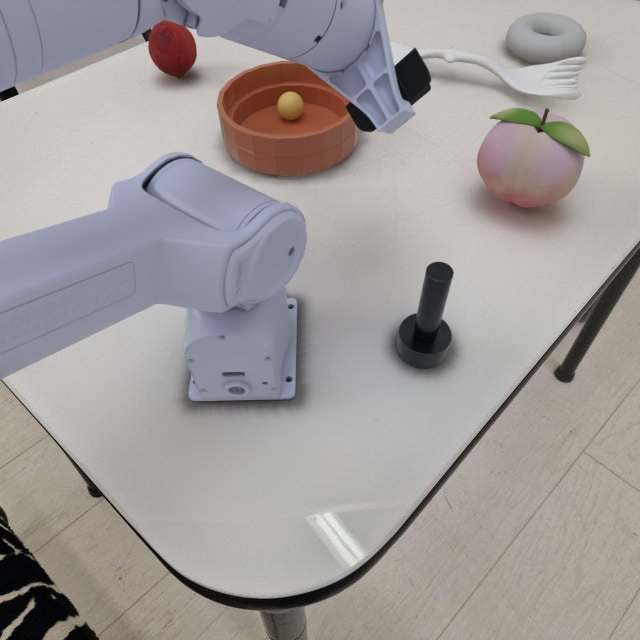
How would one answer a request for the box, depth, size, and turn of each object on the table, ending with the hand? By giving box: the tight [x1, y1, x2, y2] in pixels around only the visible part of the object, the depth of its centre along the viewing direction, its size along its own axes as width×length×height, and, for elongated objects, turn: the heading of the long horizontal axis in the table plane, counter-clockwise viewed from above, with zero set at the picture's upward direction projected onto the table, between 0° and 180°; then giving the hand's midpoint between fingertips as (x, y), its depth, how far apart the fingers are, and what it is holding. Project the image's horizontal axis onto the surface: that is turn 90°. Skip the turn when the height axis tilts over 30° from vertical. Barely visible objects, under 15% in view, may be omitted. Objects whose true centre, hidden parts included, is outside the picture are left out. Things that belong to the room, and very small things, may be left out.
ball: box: [278, 92, 304, 120], centre depth 59 cm, size 3×3×3 cm
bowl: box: [216, 60, 361, 177], centre depth 56 cm, size 15×15×5 cm
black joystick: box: [396, 261, 455, 370], centre depth 37 cm, size 4×4×9 cm
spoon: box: [389, 39, 588, 101], centre depth 64 cm, size 9×32×4 cm, turn 69°
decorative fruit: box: [476, 107, 591, 208], centre depth 47 cm, size 9×8×10 cm
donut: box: [505, 12, 587, 65], centre depth 67 cm, size 10×4×10 cm
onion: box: [147, 19, 198, 80], centre depth 64 cm, size 6×6×8 cm
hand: (393, 51), depth 39 cm, fingers open, 7 cm apart
